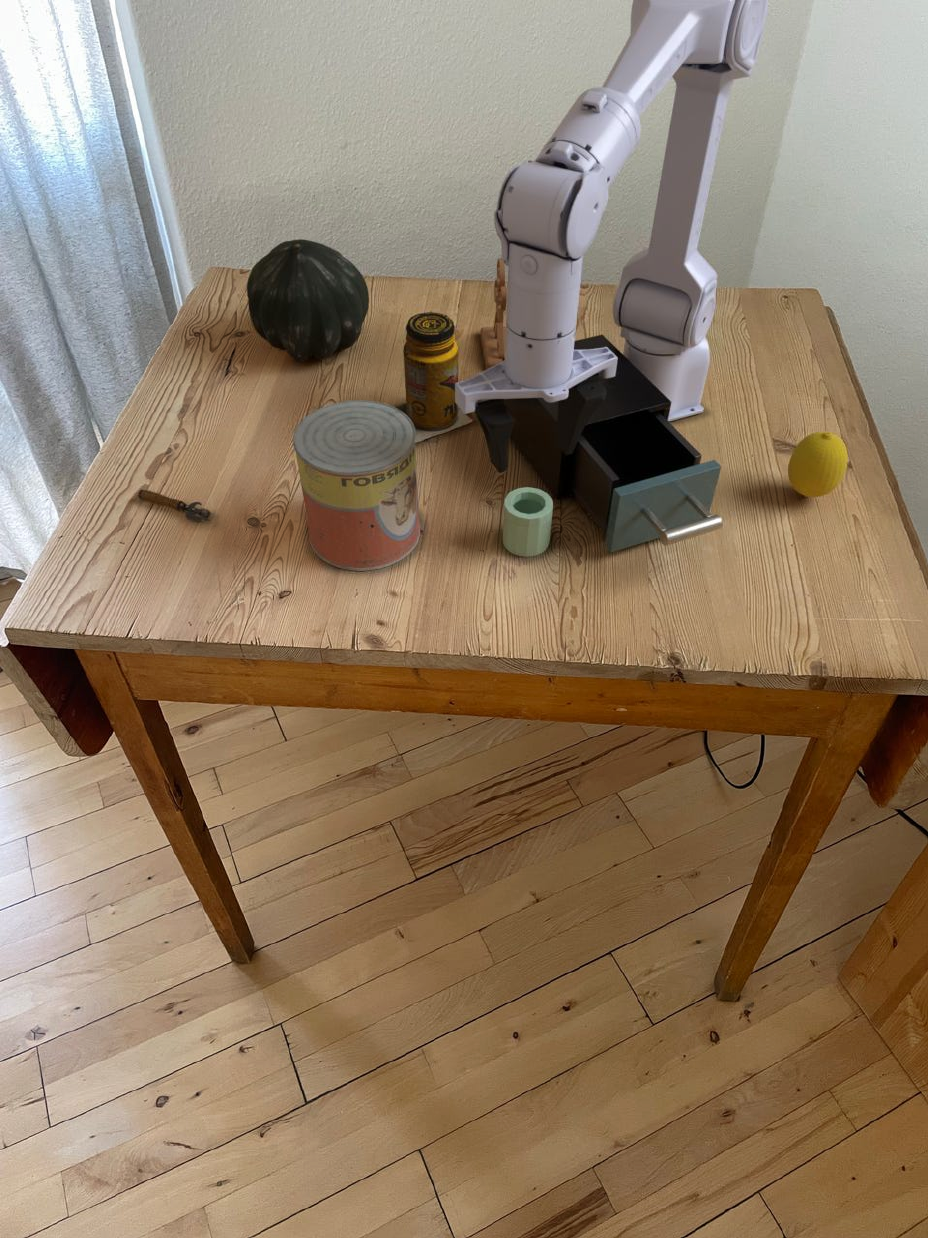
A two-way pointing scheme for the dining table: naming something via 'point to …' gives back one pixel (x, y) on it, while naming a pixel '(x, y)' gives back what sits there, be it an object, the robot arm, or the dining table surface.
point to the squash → (307, 299)
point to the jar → (527, 521)
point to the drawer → (642, 482)
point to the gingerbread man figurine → (496, 323)
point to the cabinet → (622, 401)
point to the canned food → (359, 483)
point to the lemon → (817, 464)
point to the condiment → (431, 375)
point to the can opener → (176, 505)
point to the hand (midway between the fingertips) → (531, 457)
